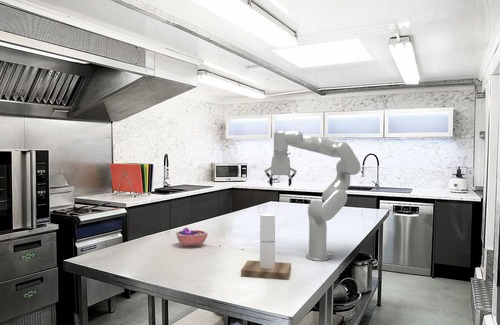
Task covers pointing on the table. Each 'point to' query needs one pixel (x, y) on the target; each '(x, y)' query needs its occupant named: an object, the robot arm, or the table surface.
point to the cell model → (191, 237)
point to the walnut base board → (266, 270)
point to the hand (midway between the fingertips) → (280, 185)
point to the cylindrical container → (267, 241)
